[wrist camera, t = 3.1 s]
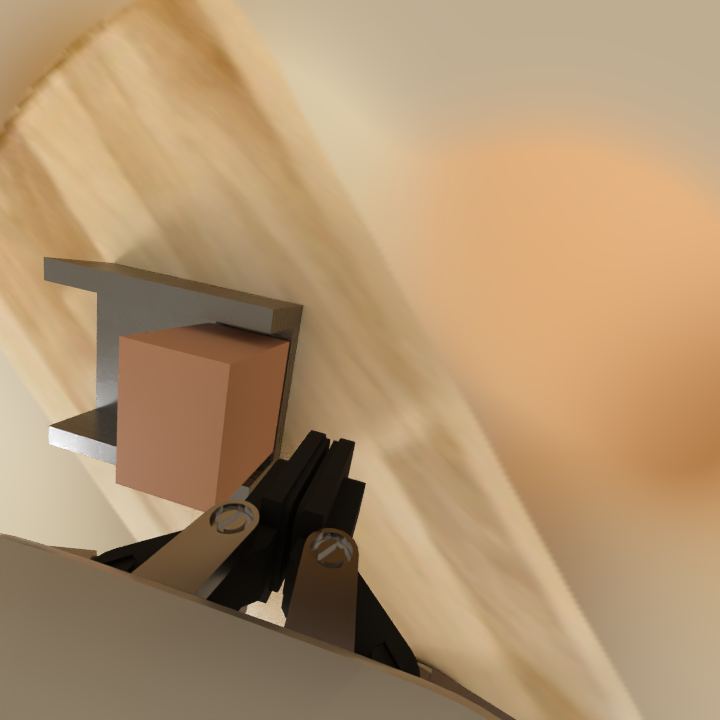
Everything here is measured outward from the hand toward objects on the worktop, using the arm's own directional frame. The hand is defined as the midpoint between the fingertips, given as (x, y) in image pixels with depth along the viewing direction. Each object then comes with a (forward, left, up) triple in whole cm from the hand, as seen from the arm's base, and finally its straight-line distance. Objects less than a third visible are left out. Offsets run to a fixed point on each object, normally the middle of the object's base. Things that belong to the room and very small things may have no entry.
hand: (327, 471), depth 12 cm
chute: (+11, +1, -8) cm, 14 cm away
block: (+7, +1, -7) cm, 10 cm away
